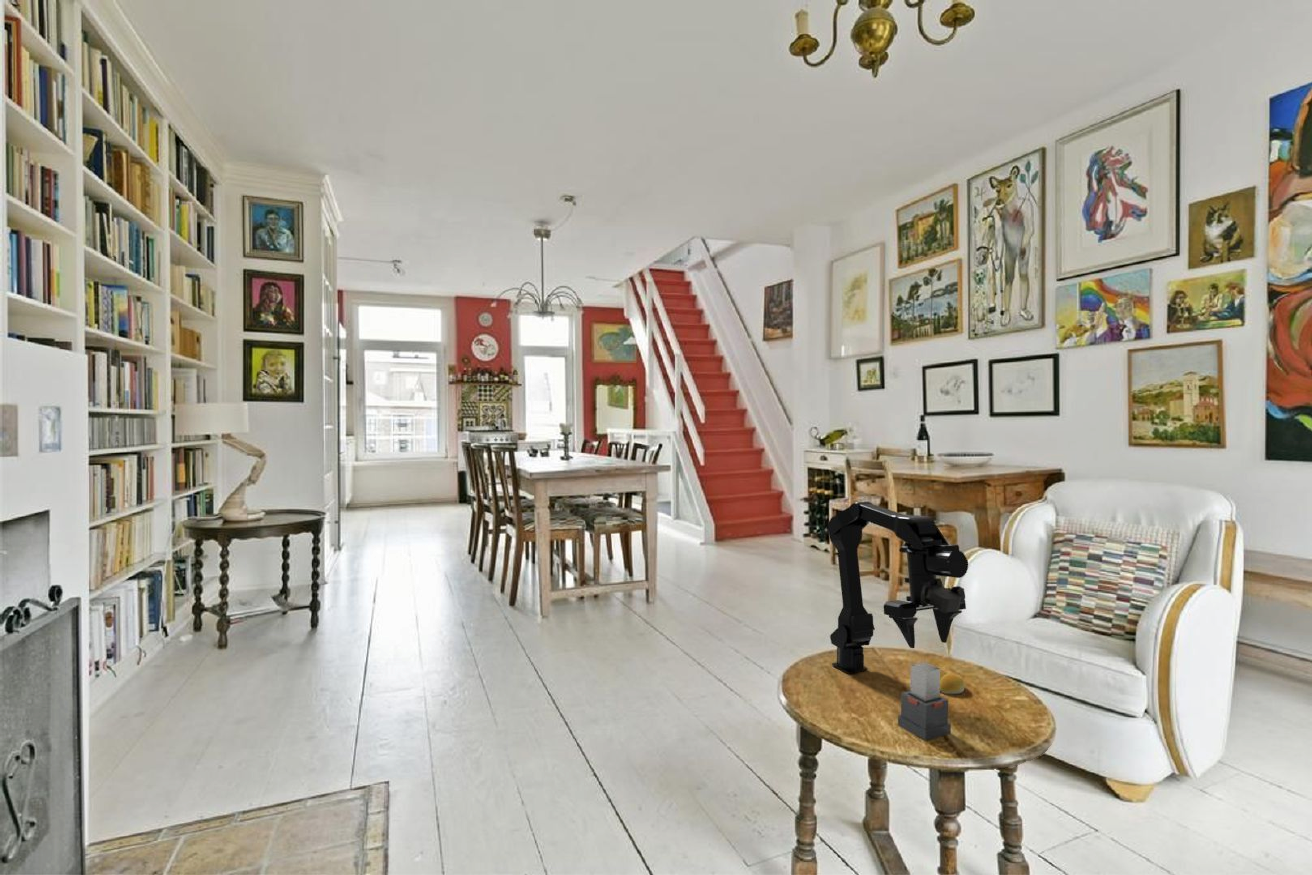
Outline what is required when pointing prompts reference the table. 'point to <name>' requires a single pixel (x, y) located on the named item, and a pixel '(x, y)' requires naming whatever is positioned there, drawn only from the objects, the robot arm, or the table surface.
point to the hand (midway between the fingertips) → (928, 645)
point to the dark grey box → (924, 717)
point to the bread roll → (950, 683)
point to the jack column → (925, 682)
